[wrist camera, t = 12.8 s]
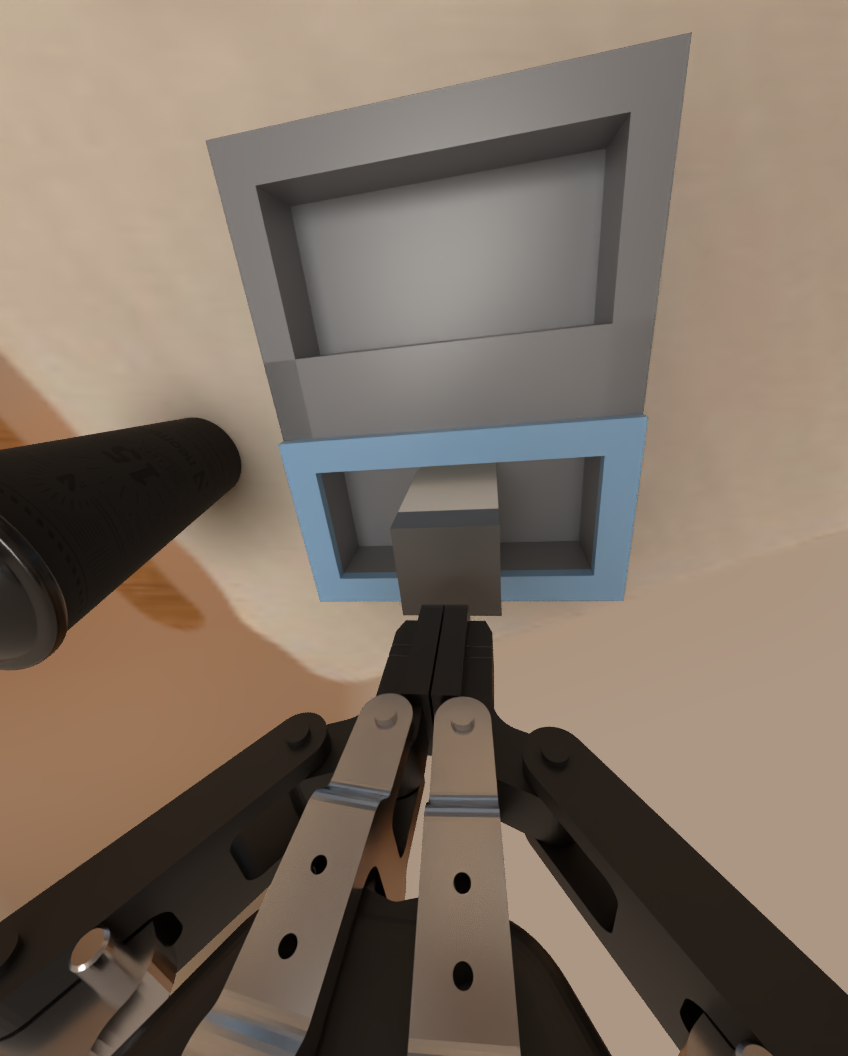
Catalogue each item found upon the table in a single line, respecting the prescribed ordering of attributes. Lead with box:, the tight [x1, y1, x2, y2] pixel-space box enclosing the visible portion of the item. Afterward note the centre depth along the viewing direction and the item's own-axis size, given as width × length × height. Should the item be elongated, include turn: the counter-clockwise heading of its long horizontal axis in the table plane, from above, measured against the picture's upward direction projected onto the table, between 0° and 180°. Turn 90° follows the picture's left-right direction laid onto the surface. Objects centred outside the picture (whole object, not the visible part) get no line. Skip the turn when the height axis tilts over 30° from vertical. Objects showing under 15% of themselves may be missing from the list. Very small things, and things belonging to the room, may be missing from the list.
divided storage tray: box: [206, 32, 692, 602], centre depth 19 cm, size 16×20×5 cm
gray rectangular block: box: [390, 462, 502, 616], centre depth 19 cm, size 4×4×8 cm
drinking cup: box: [0, 418, 241, 670], centre depth 16 cm, size 8×8×20 cm
